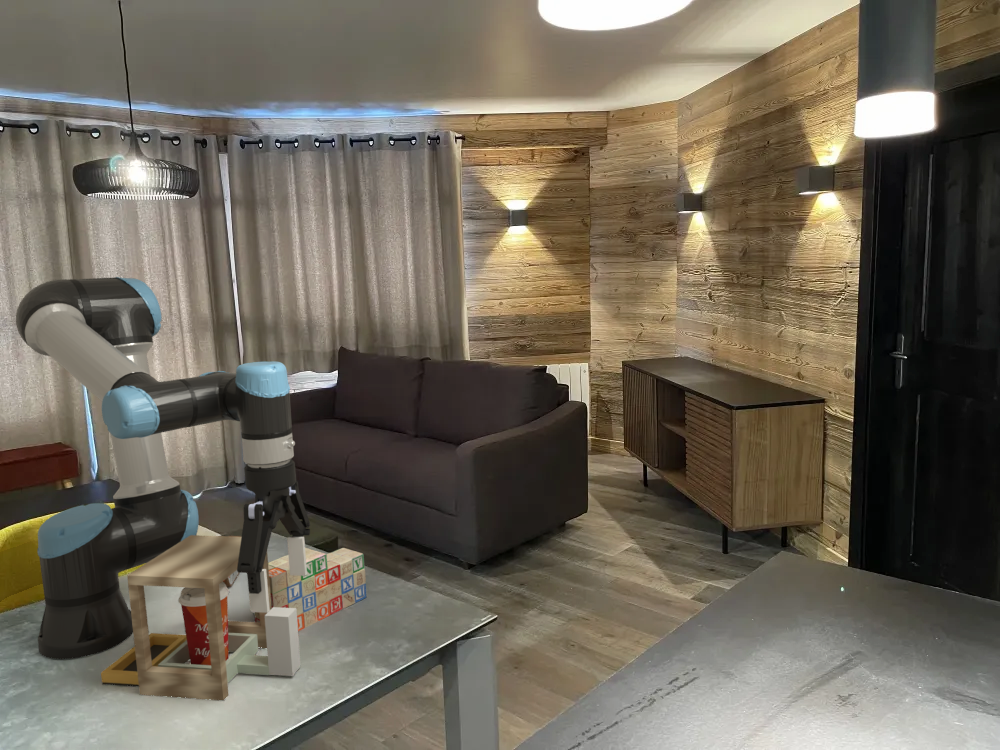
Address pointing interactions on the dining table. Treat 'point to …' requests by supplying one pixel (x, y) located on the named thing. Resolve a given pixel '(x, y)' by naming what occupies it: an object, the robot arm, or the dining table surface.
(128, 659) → the pit trap
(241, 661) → the collar
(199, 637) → the paper cup
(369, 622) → the dining table surface
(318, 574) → the stack of blocks
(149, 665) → the oak tunnel
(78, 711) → the dining table surface
